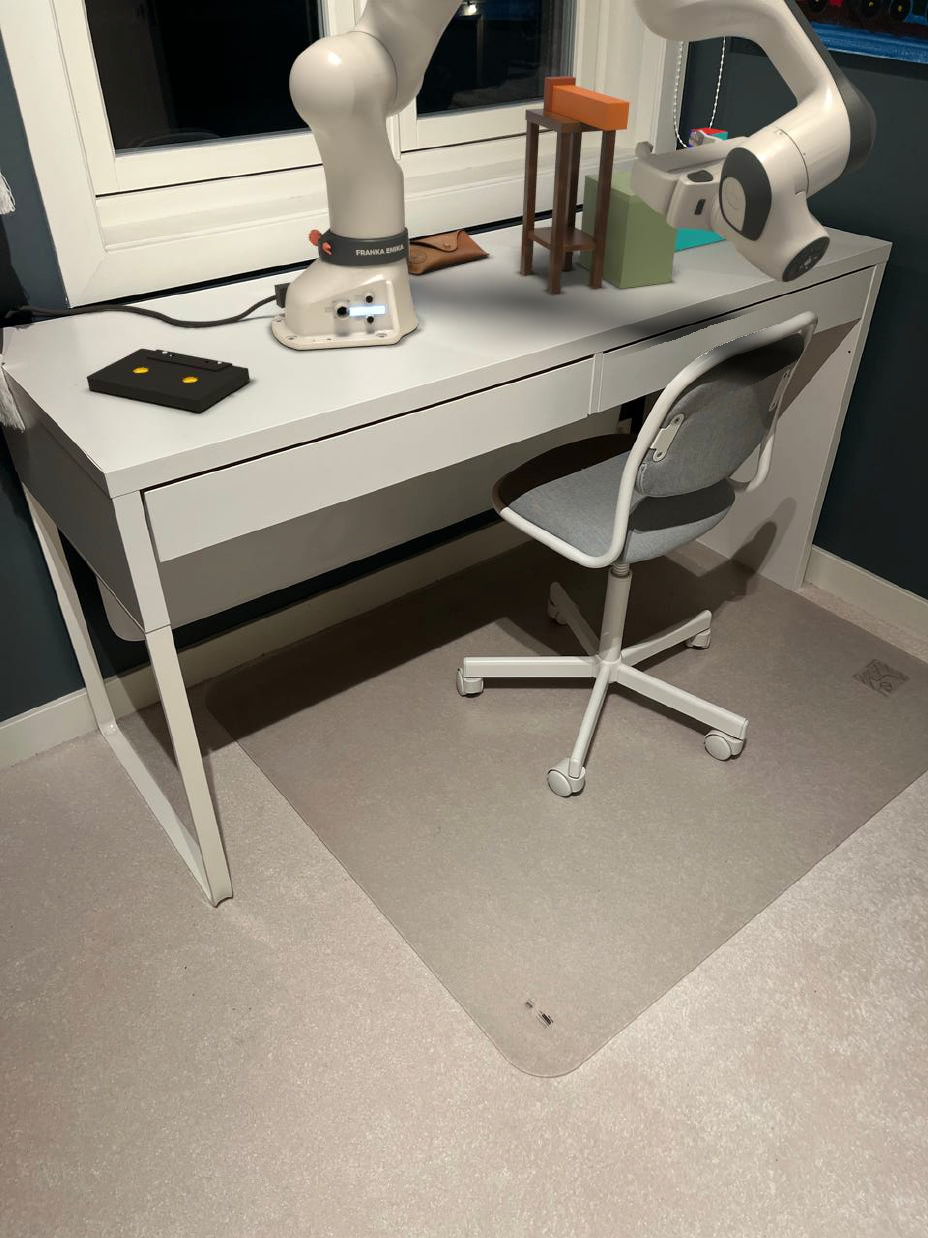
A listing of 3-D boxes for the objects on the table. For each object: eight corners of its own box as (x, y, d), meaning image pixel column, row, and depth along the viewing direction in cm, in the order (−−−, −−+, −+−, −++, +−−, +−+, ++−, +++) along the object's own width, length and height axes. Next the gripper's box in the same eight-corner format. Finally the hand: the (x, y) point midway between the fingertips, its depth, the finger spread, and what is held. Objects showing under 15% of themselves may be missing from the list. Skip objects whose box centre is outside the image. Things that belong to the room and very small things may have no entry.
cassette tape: (251, 381, 130) (249, 366, 128) (200, 414, 121) (197, 398, 120) (144, 360, 135) (141, 346, 134) (88, 390, 127) (84, 375, 126)
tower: (602, 130, 140) (605, 95, 137) (543, 109, 154) (544, 77, 152) (630, 128, 141) (633, 93, 138) (568, 107, 156) (570, 75, 153)
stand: (551, 294, 160) (561, 122, 145) (518, 272, 170) (525, 109, 154) (603, 287, 163) (619, 118, 148) (568, 266, 173) (580, 105, 157)
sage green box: (620, 288, 163) (630, 195, 154) (578, 263, 174) (585, 175, 165) (670, 282, 166) (682, 190, 157) (625, 257, 177) (635, 170, 168)
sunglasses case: (419, 273, 167) (406, 235, 166) (398, 286, 173) (385, 249, 171) (493, 254, 177) (481, 218, 175) (471, 266, 182) (459, 232, 181)
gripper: (796, 157, 126) (732, 106, 133) (676, 185, 119) (614, 129, 125) (778, 201, 131) (717, 150, 138) (662, 230, 124) (603, 175, 130)
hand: (667, 141), depth 131 cm, fingers open, 8 cm apart
